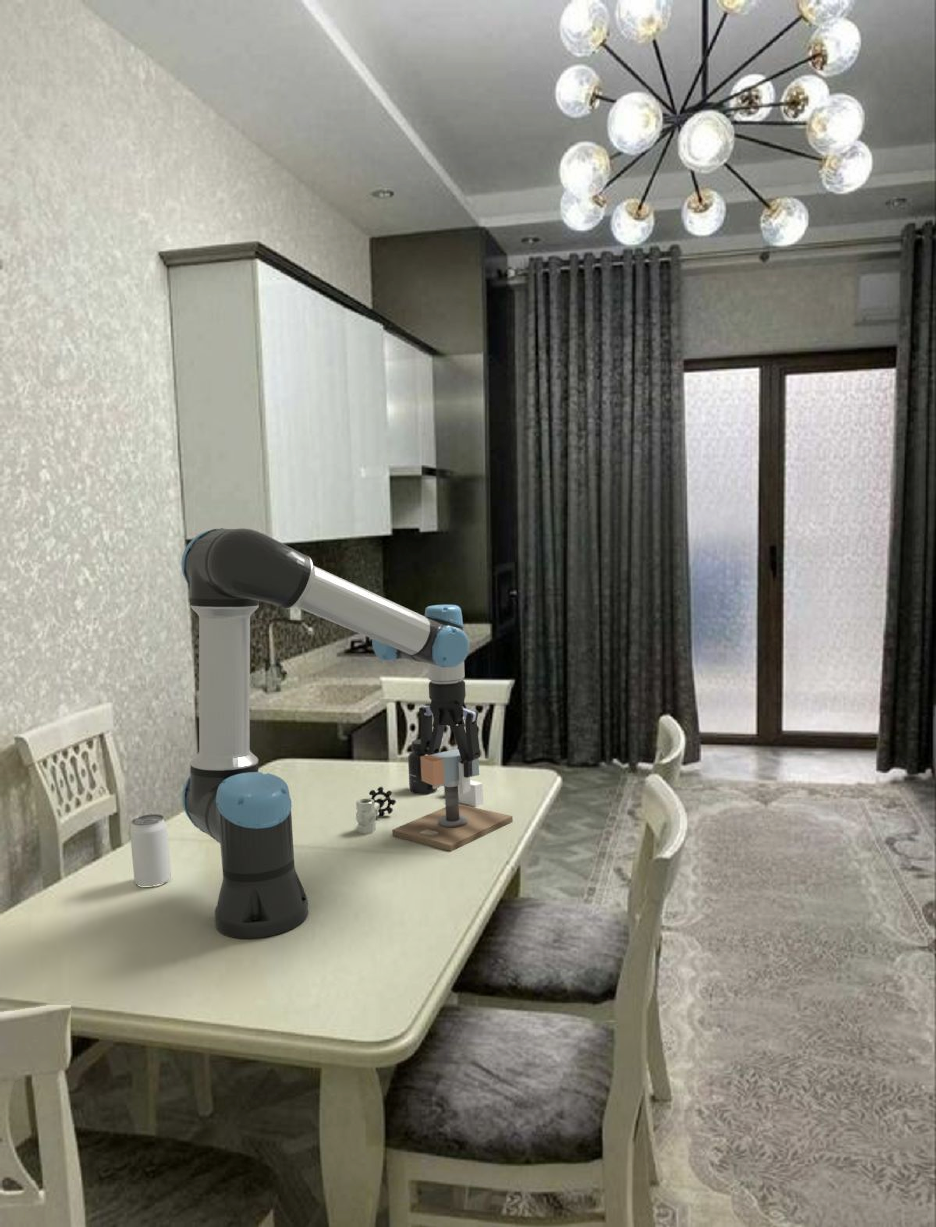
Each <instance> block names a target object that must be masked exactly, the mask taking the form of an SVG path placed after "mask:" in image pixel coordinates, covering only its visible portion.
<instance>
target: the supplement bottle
mask: <svg viewBox="0 0 936 1227" xmlns="http://www.w3.org/2000/svg"><path fill="white" fill-rule="evenodd" d="M420 748H421V738H420V739H414V740H413V741H411V751H412V752H410V753H409V755H408V757H407V761H408V762H407V763H408V764H407V765H408V767H407V768H408V786H409V787H408V788H409V791H410V793H412V794H415V795H428V794H433V793H435V792H436V791H437V790H438V788H437V789H433V785H430V784H428V783H426V782H423V781H422V777H421V758H420V757H421V756H426V755H427V754H425V753H422V752H421V750H420Z"/></svg>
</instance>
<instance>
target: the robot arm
mask: <svg viewBox="0 0 936 1227" xmlns="http://www.w3.org/2000/svg"><path fill="white" fill-rule="evenodd" d="M181 571H182V575H183V577H184V578H183V579H184V580H185V582H186V583H187V585H188V586H189V607H190V608H191V609H192V610H193V611H194V612H195V613H196V614H197V616H198V618H199V619H198V622H199V623H198V624H199V625H198V630H199V632H198V633H199V634H198V635H199V636H198V638H199V639H198V640H199V641H198V642H199V643H198V648H199V649H198V652H199V653H198V654H199V655H198V658H199V660H198V662H199V663H198V666H199V668H198V671H199V673H198V677H199V679H198V682H199V683H198V685H199V686H198V687H199V688H198V689H199V690H198V691H199V692H198V693H199V696H198V698H199V701H198V702H199V703H198V704H199V706H198V707H199V708H198V709H199V712H198V713H199V714H198V716H199V717H198V718H199V719H198V722H199V723H198V724H199V725H198V726H199V727H198V729H199V730H198V731H199V736H198V737H199V738H198V742H199V743H198V746H199V750H198V751H199V752H198V753H197V755H195V756H194V757H193V758H192V759H191V761H190V770H189V771H190V772H189V773H190V774H189V777H188V778H187V779H186V781H185V783H184V786H183V789H182V795H181V800H182V806H183V808H182V809H183V810H184V812H185V814H186V816H187V818H188V820H189V821H190V822H191V823H192V824H193V826H194V827H196V828H197V829H199V831H201V832H202V833H205V834H206V835H208V836H210V837H211V838H212V839H213V840H215V841H216V842H217V843H219V845H220V855H221V865H222V866H221V868H222V869H221V870H222V882H221V885H220V890H219V894H218V899H217V904H216V906H215V910H214V917H215V918H214V919H215V920H214V922H215V923H214V924H215V927H216V930H217V931H218V932H219V933H221V934H222V935H225V936H228V937H230V938H231V937H232V938H237V939H258V938H266V937H270V936H271V937H272V936H276V935H279V934H282V933H285V932H287V931H290V930H293V929H294V928H297V927H298V926H299V925H301V924H302V923H303V922H305V920H306V919H307V917H308V916H309V902H308V901H309V900H308V896H307V894H306V892H305V889H304V887H303V885H302V882H301V879H300V877H299V875H298V872H297V870H296V867H295V854H294V853H295V852H294V836H293V835H294V834H293V821H292V820H293V817H292V806H293V805H292V798H291V795H290V790H289V786H288V784H287V782H286V781H285V780H284V779H282V778H281V777H280V776H278V775H275V774H271V773H263V772H260V771H259V758H258V756H256V755H255V754H253V752H252V751H251V750H250V746H251V745H250V740H251V739H250V734H251V733H250V727H251V725H250V722H251V718H250V708H251V706H250V704H251V701H250V700H251V699H250V694H251V692H250V690H251V689H250V687H251V686H250V685H251V683H250V682H251V676H250V675H251V674H250V673H251V666H250V665H251V658H250V657H251V648H250V647H251V616H252V614H254V612H255V611H257V610H258V609H259V606H260V602H263V603H267V604H272V605H274V606H277V607H279V608H282V609H285V610H290V609H292V608H294V607H295V608H297V609H300V610H302V611H305V612H307V613H309V614H312V615H315V616H317V617H320V618H321V619H324V620H326V621H328V622H331V623H334V624H336V625H339V626H341V627H344V628H346V629H348V630H351V631H353V632H354V633H358V634H359V635H362V636H365V637H367V638H369V639H371V644H372V648H373V652H374V653H375V654H374V655H376V656H377V658H378V659H380V660H381V661H384V662H385V661H393V662H394V661H396V660H402V659H403V660H408V661H413V662H418V663H425V664H427V679H428V680H429V683H428V697H429V700H430V703H429V704H427V705H424V706H420V707H419V708H418V711H419V716H420V739H421V748H420V750H421V752H422V753H425V754H427V755H432V754H437V753H441V751H440V749H441V745H442V741H443V737H444V732H445V728H446V727H449V730H450V731H452V732H453V736H454V739H455V743H456V746H457V749H458V750H459V753H460V756H461V760H462V761H460V762H459V785H460V794H464V793H466V792H468V791H470V780H471V778H472V777H471V776H472V774H473V773H472V761H473V760H475V759H477V758H480V757H481V748H480V742H479V741H480V740H479V732H478V717H479V712H478V710H473V711H472V710H470V709H468V708H467V705H466V704H465V699H466V694H467V693H466V681H465V680H464V678H465V677H466V676H465V660H466V659H467V656H468V655H469V651H470V642H469V641H470V640H469V638H468V636H467V634H466V633H465V631H464V624H463V623H464V621H463V614H462V608H461V607H460V606H459V605H456V604H435V605H429V606H427V607H426V608H425V610H424V615H422V614H420V613H419V612H415V611H414V610H411V609H409V608H407V607H405V606H402V605H401V604H398V603H396V602H394V601H392V600H390V599H387V598H385V597H384V596H383V597H382V596H380V595H378V594H376V593H374V592H373V591H370V590H367V589H366V588H363V587H361V586H360V585H357V584H355V583H352V582H350V581H348V580H346V579H343V578H341V577H339V576H337V575H335V574H333V573H330V572H328V571H326V570H324V569H323V568H320V567H317V566H315V565H314V564H313V560H312V558H311V557H310V556H308V555H306V554H304V553H302V552H300V551H298V550H295V549H294V548H292V547H290V546H289V545H286V544H285V543H282V542H281V541H278V540H277V539H275V538H273V537H271V536H269V535H267V534H264V533H263V532H260V531H257V530H254V529H252V528H251V529H250V528H223V527H222V528H212V529H210V530H207V531H204V532H201V533H199V534H197V535H196V536H195V537H193V538H192V539H191V541H189V543H188V544H187V545H186V547H185V549H184V551H183V554H182V557H181ZM441 787H443V786H442V784H441V785H437V786H433V789H437V790H438V789H439V788H441Z"/></svg>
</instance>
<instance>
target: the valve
mask: <svg viewBox="0 0 936 1227" xmlns="http://www.w3.org/2000/svg"><path fill="white" fill-rule="evenodd" d="M368 794H369V796H371V798H370V797H367V798H366V797H365V798H361V799H358V800H356V802H355V805H356V807H355V808H356V810H357V811H356V812H355V819H356V822H357V833H359V834H363V835H367V834H368V835H369V834H373V833H374V832H375V831H376V830H377V829H376V828H377V827H376V820H377V816H378V817H384V816H385V812H387V814H389V815H390V814H392V813H393V811H394V809H393V807H391V806H395V804H397V801H396V799H394V798H393V799H391V796H392V794H393V792H392V790H387V791H386V792H385V791H384V787H383V786H379V787H378V788H377V792H376V791H375V790H374V789H371V790H370V791H369V792H368ZM379 795H380V796H383V797H384V798H383V797H379V798H376V796H379ZM375 798H376V799H375ZM386 802H387V805H386V807H384V806H385V804H386ZM383 807H384V808H383Z"/></svg>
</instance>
